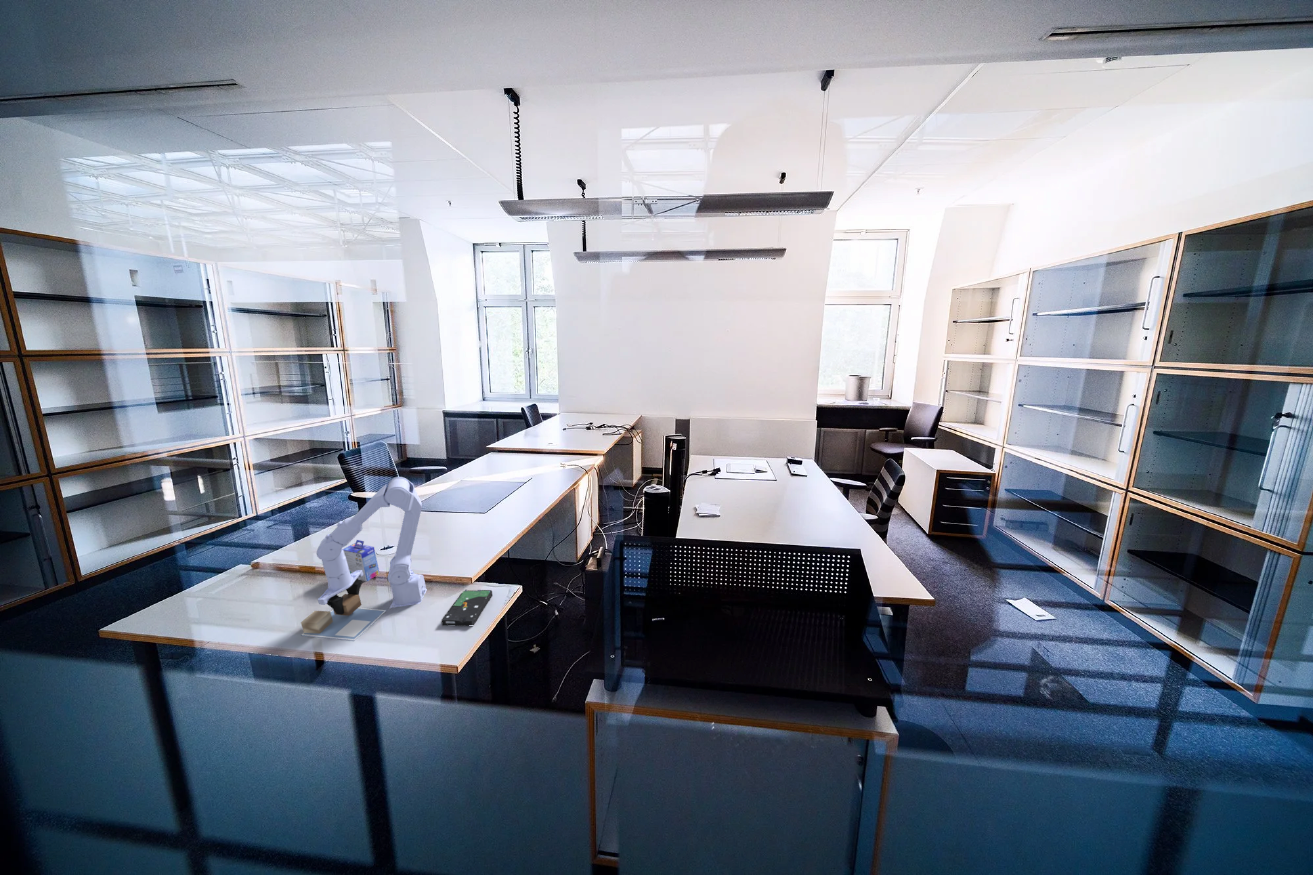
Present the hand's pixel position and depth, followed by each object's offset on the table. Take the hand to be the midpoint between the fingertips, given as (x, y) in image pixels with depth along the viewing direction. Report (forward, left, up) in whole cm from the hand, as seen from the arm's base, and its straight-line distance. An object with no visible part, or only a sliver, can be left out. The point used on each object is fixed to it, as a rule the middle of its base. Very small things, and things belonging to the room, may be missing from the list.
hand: (347, 607), depth 129 cm
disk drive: (-37, +6, -4) cm, 38 cm away
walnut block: (0, 0, -1) cm, 1 cm away
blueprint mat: (-1, +4, -3) cm, 5 cm away
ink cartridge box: (+4, -22, -3) cm, 23 cm away
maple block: (+7, +5, -2) cm, 8 cm away
